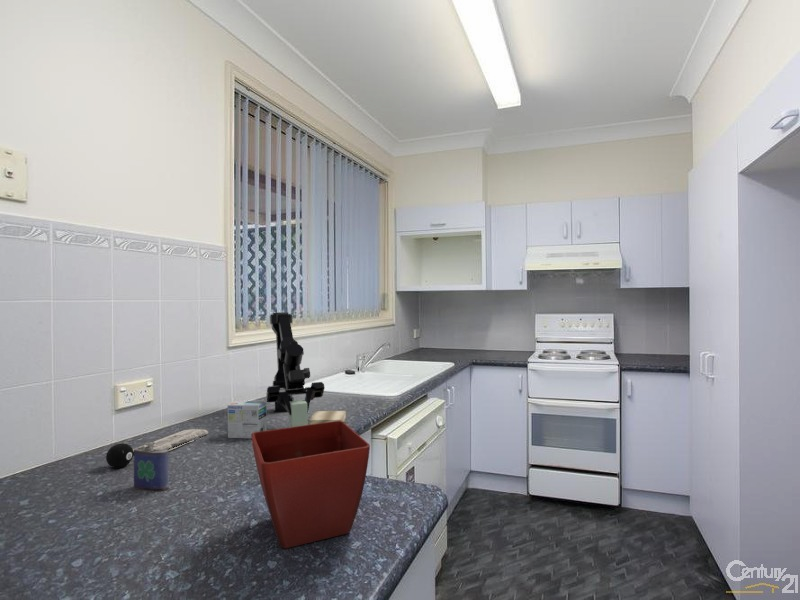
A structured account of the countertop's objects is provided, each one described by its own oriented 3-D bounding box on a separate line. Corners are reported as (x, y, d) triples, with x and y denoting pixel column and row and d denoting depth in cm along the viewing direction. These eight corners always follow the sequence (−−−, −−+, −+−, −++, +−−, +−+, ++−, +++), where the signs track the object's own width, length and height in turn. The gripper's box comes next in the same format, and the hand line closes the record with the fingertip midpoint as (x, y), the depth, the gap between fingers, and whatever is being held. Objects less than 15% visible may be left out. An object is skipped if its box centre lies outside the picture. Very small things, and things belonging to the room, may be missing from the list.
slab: (308, 429, 150) (308, 420, 150) (315, 419, 162) (315, 411, 162) (341, 428, 150) (341, 419, 150) (345, 419, 162) (345, 410, 162)
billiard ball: (120, 471, 115) (120, 448, 115) (100, 470, 116) (100, 447, 116) (138, 463, 121) (138, 441, 121) (119, 462, 122) (119, 440, 122)
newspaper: (157, 459, 125) (156, 450, 125) (124, 460, 129) (123, 451, 129) (214, 435, 146) (214, 427, 146) (185, 436, 150) (184, 428, 150)
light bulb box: (267, 432, 147) (267, 400, 147) (259, 439, 140) (258, 404, 140) (236, 432, 148) (236, 399, 148) (227, 438, 141) (226, 404, 141)
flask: (171, 487, 104) (170, 441, 104) (161, 492, 102) (160, 445, 101) (140, 483, 107) (139, 439, 107) (129, 488, 104) (128, 442, 104)
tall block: (289, 431, 148) (289, 401, 148) (304, 429, 149) (304, 400, 149) (292, 435, 143) (291, 404, 143) (307, 433, 145) (307, 403, 145)
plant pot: (263, 566, 73) (261, 462, 73) (251, 515, 90) (250, 431, 90) (373, 539, 80) (371, 445, 80) (343, 496, 98) (342, 420, 98)
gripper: (266, 362, 146) (271, 402, 136) (322, 358, 153) (331, 396, 143) (264, 382, 153) (268, 422, 143) (318, 377, 161) (325, 415, 151)
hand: (299, 413), depth 145 cm, fingers closed on tall block, 5 cm apart
